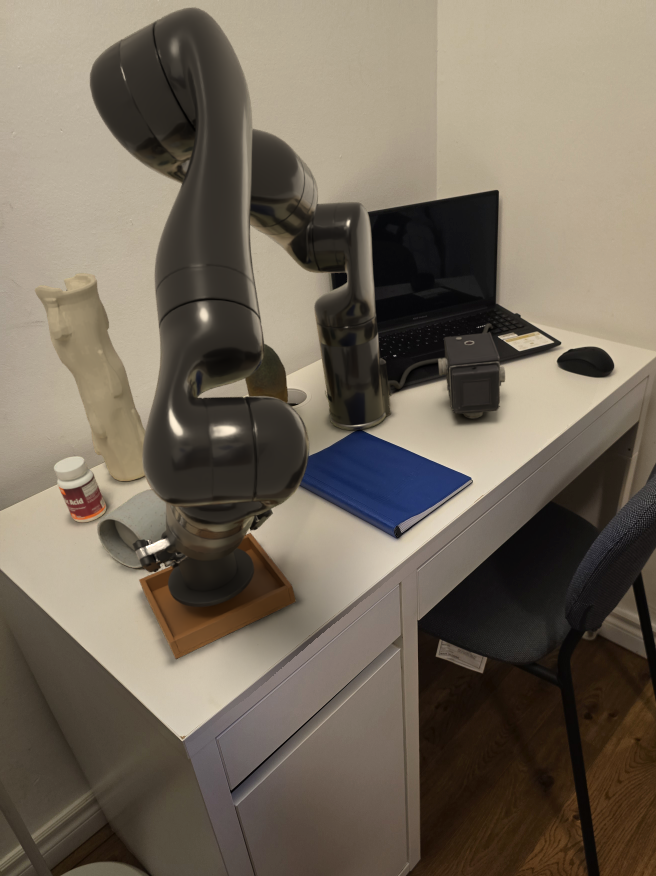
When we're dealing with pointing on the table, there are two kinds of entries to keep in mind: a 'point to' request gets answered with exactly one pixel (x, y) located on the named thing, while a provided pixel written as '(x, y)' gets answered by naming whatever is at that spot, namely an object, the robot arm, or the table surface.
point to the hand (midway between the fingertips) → (199, 547)
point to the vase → (96, 372)
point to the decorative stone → (269, 377)
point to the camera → (472, 374)
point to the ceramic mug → (132, 526)
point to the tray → (210, 623)
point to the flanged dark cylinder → (211, 579)
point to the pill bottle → (79, 489)
